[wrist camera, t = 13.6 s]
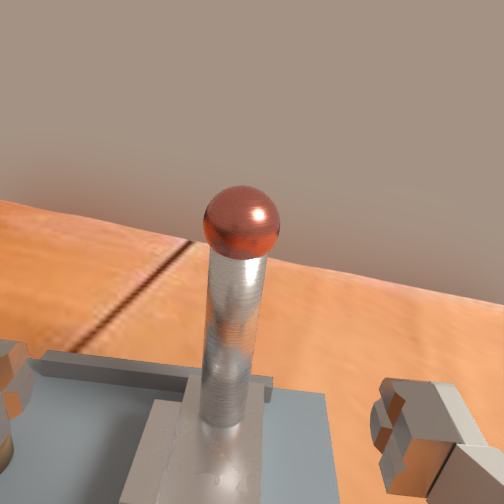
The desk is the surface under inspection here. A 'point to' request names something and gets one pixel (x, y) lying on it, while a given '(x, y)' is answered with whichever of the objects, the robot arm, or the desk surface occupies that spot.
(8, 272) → the desk surface
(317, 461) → the press bed
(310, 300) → the desk surface
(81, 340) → the desk surface
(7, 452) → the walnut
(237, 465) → the lever
